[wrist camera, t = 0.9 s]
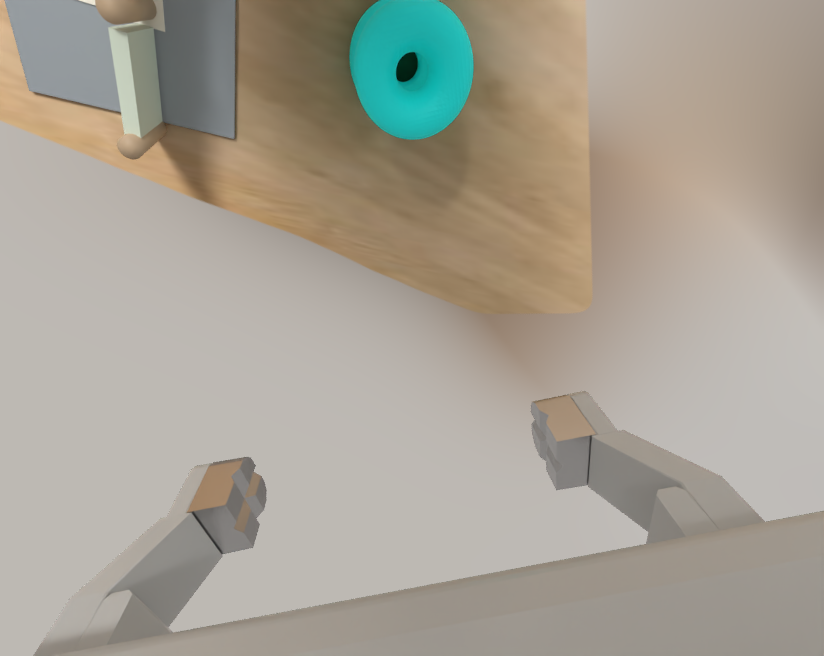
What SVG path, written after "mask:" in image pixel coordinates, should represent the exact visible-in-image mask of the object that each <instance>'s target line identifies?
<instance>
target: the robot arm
mask: <svg viewBox="0 0 824 656" xmlns="http://www.w3.org/2000/svg"><path fill="white" fill-rule="evenodd" d="M531 413H532V415H533V417H534V419H535V421H534V422H533V423H532V434H533V439H534V443H535V446H536V449H537V451H538V453H539V455H540V457H541V458H543V459H544V460H546V465H547V467H546V468H547V472H548V474H549V476H550V478H551V480H552V482H553V484H554V486H555V488H556V490H560V489H566V488H572V487H578V486H585V485H588V487H589V488H591V489H592V490H593V491H595V492H596V493H597V494H599V495H600V496H601V497H603V498H604V499H605V500H607V501H608V502H609V503H611V504H612V505H613V506H615V507H616V508H617V509H619V510H620V511H621V512H623V513H624V514H625V515H627V516H628V517H629V518H630V519H632V520H633V521H635V522H636V523H637V524H638V525H640V526H641V527H642V528H644V529H645V530H646V531H648V532H649V533H648V538H647V542H646V544H644V545H639V546H633V547H628V548H623V549H617V550H612V551H607V552H602V553H596V554H591V555H585V556H580V557H574V558H569V559H564V560H559V561H553V562H548V563H543V564H537V565H532V566H526V567H521V568H516V569H511V570H505V571H500V572H495V573H489V574H485V575H479V576H473V577H468V578H463V579H458V580H452V581H447V582H442V583H436V584H431V585H426V586H420V587H416V588H410V589H404V590H399V591H394V592H388V593H383V594H378V595H372V596H367V597H362V598H356V599H351V600H345V601H340V602H335V603H330V604H324V605H319V606H314V607H308V608H303V609H297V610H292V611H287V612H282V613H276V614H271V615H265V616H261V617H254V618H249V619H244V620H239V621H233V622H228V623H223V624H218V625H212V626H207V627H201V628H196V629H191V630H186V631H180V632H174V633H173V632H172V631H171V630H170V629H169V628H168V627H169V626H170V624H171V623H172V622H173V620H174V619H175V618H176V616H177V615H178V614H179V613H180V611H181V610H182V609H183V607H184V606H185V605H186V603H187V602H188V601H189V599H190V598H191V597H192V596H193V594H194V593H195V592H196V590H197V589H198V588H199V586H200V585H201V584H202V582H203V581H204V580H205V579H206V577H207V576H208V575H209V573H210V572H211V571H212V569H213V568H214V567H215V565H216V564H217V563H218V561H219V560H220V559H221V558H222V554H226V553H231V552H235V551H240V550H244V549H249V548H253V546H254V542H255V539H256V536H257V532H258V528H259V522H258V521H257V519H256V518H257V517H258V516H259V515H260V513H261V512H262V511H263V510H264V507H265V503H266V487H265V482H264V480H263V478H262V476H260V475H258V474H256V473H255V472H254V469H255V466H256V465H255V464H254V462H253V460H252V459H251V458H249V457H243V458H237V459H232V460H225V461H219V462H213V463H210V464H204V465H197V466H195V467H194V468H193V469H191V471H190V473H189V475H188V477H187V478H186V480H185V482H184V484H183V486H182V488H181V490H180V492H179V494H178V496H177V498H176V500H175V501H174V503H173V505H172V507H171V509H170V511H169V513H168V515H167V517H165V518H161V519H159V520H158V521H157V522H156V523H155V524H154V525H153V526H151V527H150V528H149V529H148V530H147V531H146V532H145V533H144V534H142V535H141V536H140V537H139V538H138V539H137V540H136V541H135V542H133V543H132V544H131V545H130V546H129V547H128V548H127V549H125V550H124V551H123V552H122V553H121V554H120V555H119V556H118V557H116V558H115V559H114V560H113V561H112V562H111V563H110V564H108V565H107V566H106V567H105V568H104V569H103V570H102V571H101V572H99V573H98V574H97V575H96V576H95V577H94V578H93V579H92V580H90V581H89V582H88V583H87V584H86V585H85V586H84V587H82V588H81V589H80V590H79V591H78V592H77V593H76V594H75V595H74V596H72V597H71V598H70V599H69V601H68V602H67V603H66V605H65V607H64V608H63V610H62V611H61V613H60V615H59V616H58V618H57V619H56V621H55V622H54V624H53V626H52V627H51V629H50V630H49V632H48V633H47V635H46V637H45V638H44V640H43V642H42V643H41V644H40V646H39V648H38V649H37V651H36V652H35V654H34V656H824V511H820V512H815V513H809V514H804V515H799V516H794V517H788V518H783V519H778V520H773V521H767V522H765V521H764V520H763V519H762V518H761V517H760V516H759V515H758V514H757V513H756V512H755V511H754V510H753V509H752V508H751V506H750V505H749V504H748V503H747V502H746V501H745V500H744V499H743V498H742V497H741V496H740V495H739V494H738V493H737V492H736V491H735V490H734V489H733V488H732V487H731V486H730V485H729V483H728V482H727V481H726V480H725V479H724V478H723V477H722V476H720V475H717V474H715V473H713V472H711V471H709V470H707V469H705V468H703V467H700V466H698V465H696V464H694V463H692V462H690V461H688V460H686V459H684V458H682V457H680V456H677V455H675V454H673V453H671V452H669V451H667V450H664V449H662V448H660V447H658V446H656V445H654V444H652V443H650V442H648V441H646V440H644V439H641V438H639V437H637V436H635V435H633V434H631V433H629V432H627V431H625V430H621V431H618V430H617V429H616V428H615V426H614V425H613V424H612V423H611V421H610V420H609V419H608V418H607V416H606V415H605V414H604V412H603V411H602V410H601V409H600V407H599V406H598V405H597V403H596V402H595V401H594V400H593V398H592V397H591V396H590V395H589V393H588V392H586V391H582V392H577V393H572V394H568V395H563V396H558V397H553V398H549V399H543V400H539V401H534V402H532V405H531Z"/></svg>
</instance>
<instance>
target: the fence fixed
mask: <svg viewBox="0 0 824 656" xmlns="http://www.w3.org/2000/svg"><path fill="white" fill-rule="evenodd" d="M95 5H96V8H97V10H98V12H99V14H100V15H101V16H102V17H103V18H104V19H105V20H106V21H107V22H109V23H111V24H114V25H119V24H126V23H132V22H139V21H145V20H151V19H153V18H154V17H155V16H156V13H157V10H156V6H155V3H154V1H153V0H95Z"/></svg>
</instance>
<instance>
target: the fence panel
mask: <svg viewBox="0 0 824 656" xmlns="http://www.w3.org/2000/svg"><path fill="white" fill-rule="evenodd" d="M108 30H109V37H110V43H111V50H112V56H113V63H114V69H115V76H116V82H117V89H118V95H119V102H120V108H121V115H122V121H123V128H124V134H125V135H124V136H122V137H121V138H119V139H118V141H117V147H118V149H119V151H120V152H121V154H123V155H124V156H125V157H127V158H129V159H138V158H140V157H141V156H142V155H143V154H144V153H145V152H146V151H147V150H149V149H150V148H151V147H152V146H153V145H154V144H155V143H156V142H158V141H159V140H160V139H161V138H162V137H163V136H164V135H165V134H166V132H167V128H166V125H165V124H164V122H163V121H162V110H161V100H160V90H159V79H158V69H157V59H156V48H155V38H154V28H153V27H150V26H147V25H143V24H140V23H133V24H126V25H120V26H114V27H108Z"/></svg>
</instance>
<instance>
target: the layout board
mask: <svg viewBox="0 0 824 656" xmlns="http://www.w3.org/2000/svg"><path fill="white" fill-rule="evenodd" d="M153 1H154V3H155V6H156V10H157V13H156V16H155V17H154V18H153V19H151V20H145V21H139V22H132V23H126V24H133V23H140V24H143V25H147V26H150V27H153V28H154V38H155V48H156V59H157V69H158V79H159V90H160V100H161V110H162V121H163V122H164V123H168V124H173V125H177V126H181V127H185V128H190V129H194V130H198V131H202V132H207V133H211V134H215V135H219V136H224V137H228V138H232V139H235V21H236V0H153ZM5 4H6V7H7V11H8V15H9V18H10V22H11V26H12V29H13V33H14V37H15V40H16V44H17V48H18V51H19V55H20V58H21V62H22V66H23V69H24V73H25V77H26V80H27V84H28V88H29V91H33V92H37V93H41V94H45V95H50V96H54V97H58V98H62V99H67V100H71V101H75V102H79V103H83V104H88V105H92V106H96V107H100V108H105V109H109V110H113V111H117V112H121V108H120V102H119V95H118V89H117V82H116V76H115V69H114V63H113V56H112V50H111V43H110V37H109V30H108V27H114V26H120V25H126V24H119V25H114V24H111V23H109V22H107V21H106V20H105V19H104V18H103V17H102V16H101V15H100V14H99V12H98V10H97V8H96V5H95V0H5Z"/></svg>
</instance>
